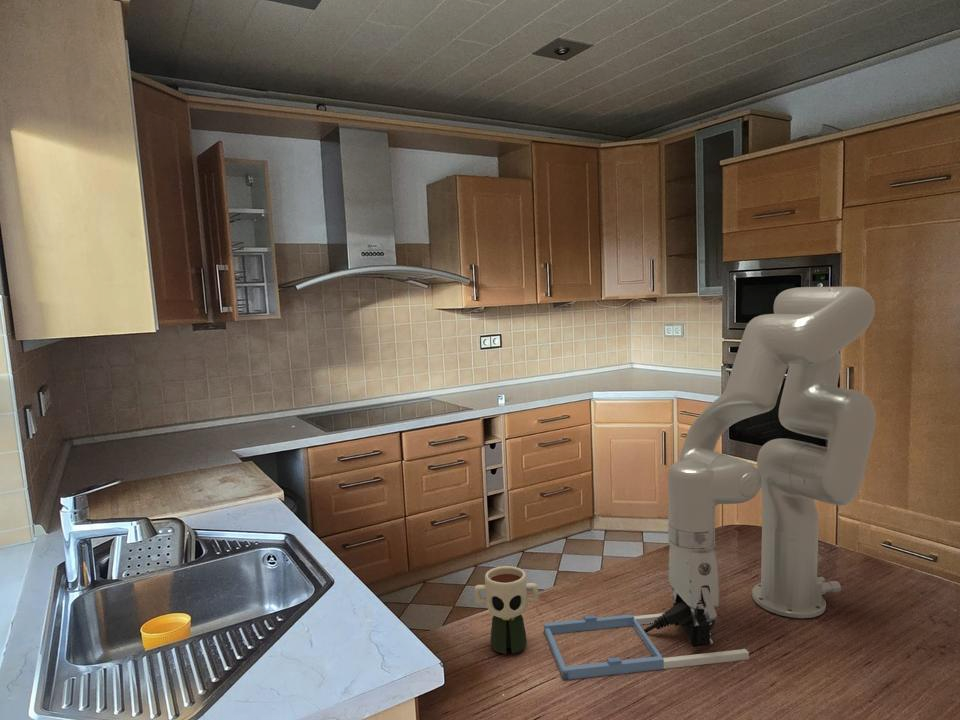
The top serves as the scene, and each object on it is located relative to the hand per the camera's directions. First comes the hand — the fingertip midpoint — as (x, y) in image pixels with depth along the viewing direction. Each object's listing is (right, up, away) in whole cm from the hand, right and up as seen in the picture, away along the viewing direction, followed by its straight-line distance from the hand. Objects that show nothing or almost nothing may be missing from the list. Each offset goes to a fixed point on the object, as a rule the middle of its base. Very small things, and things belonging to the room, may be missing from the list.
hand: (691, 633), depth 107 cm
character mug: (-32, -3, 0) cm, 32 cm away
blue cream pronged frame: (-9, -2, -1) cm, 9 cm away
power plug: (-2, -1, +1) cm, 3 cm away
